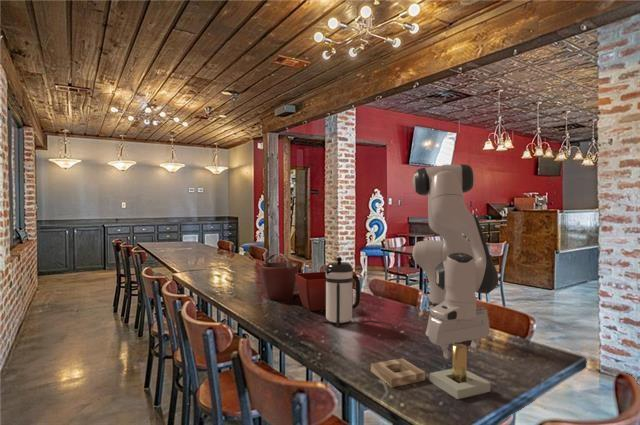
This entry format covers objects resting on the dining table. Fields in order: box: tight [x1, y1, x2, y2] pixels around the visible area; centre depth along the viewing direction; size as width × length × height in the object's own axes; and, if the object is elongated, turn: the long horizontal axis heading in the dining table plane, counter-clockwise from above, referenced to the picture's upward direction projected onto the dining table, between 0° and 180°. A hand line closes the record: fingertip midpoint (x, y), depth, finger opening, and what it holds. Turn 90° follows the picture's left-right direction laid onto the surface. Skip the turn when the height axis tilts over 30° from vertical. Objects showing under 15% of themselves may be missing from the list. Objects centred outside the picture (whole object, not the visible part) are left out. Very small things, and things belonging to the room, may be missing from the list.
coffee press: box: [322, 256, 361, 328], centre depth 180 cm, size 17×16×30 cm
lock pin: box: [451, 343, 468, 383], centre depth 116 cm, size 4×4×12 cm
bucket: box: [259, 253, 299, 301], centre depth 230 cm, size 24×22×25 cm
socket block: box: [429, 368, 491, 400], centre depth 116 cm, size 12×12×2 cm
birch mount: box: [370, 357, 426, 388], centre depth 123 cm, size 12×12×2 cm
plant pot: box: [295, 271, 326, 312], centre depth 206 cm, size 19×19×17 cm
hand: (459, 355), depth 117 cm, fingers open, 8 cm apart
